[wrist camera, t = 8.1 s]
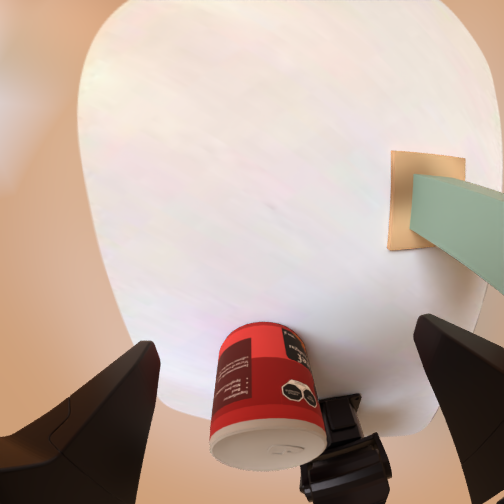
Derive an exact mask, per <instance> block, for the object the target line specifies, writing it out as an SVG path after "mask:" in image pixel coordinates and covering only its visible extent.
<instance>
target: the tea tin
mask: <svg viewBox="0 0 504 504" xmlns="http://www.w3.org/2000/svg"><path fill="white" fill-rule="evenodd" d="M409 229H411V230H412V231H414V232H416V233H417V234H419V235H420V236H422V237H424V238H425V239H427V240H428V241H430V242H431V243H433V244H434V245H436V246H437V247H439V248H440V249H442V250H443V251H445V252H446V253H448V254H449V255H451V256H452V257H454V258H455V259H456V260H458V261H459V262H461V263H462V264H463V265H465V266H466V267H468V268H469V269H470V270H472V271H473V272H474V273H476V274H477V275H478V276H480V277H481V278H482V279H484V280H485V281H486V282H488V283H489V284H490V285H492V286H493V287H494V288H495V289H497V290H498V291H499V292H500V293H502V294H503V295H504V193H501V192H498V191H495V190H492V189H489V188H486V187H483V186H480V185H476V184H473V183H470V182H466V181H463V180H459V179H456V178H451V177H442V176H432V175H422V174H414V176H413V195H412V208H411V218H410V227H409Z"/></svg>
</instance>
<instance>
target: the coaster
mask: <svg viewBox="0 0 504 504" xmlns="http://www.w3.org/2000/svg"><path fill="white" fill-rule="evenodd" d="M414 174H422V175H432V176H442V177H451V178H456V179H459V180H463V181H465V158H459V157H452V156H444V155H436V154H427V153H417V152H405V151H391V200H390V219H389V232H388V243H387V248H388V249H389V250H390V251H391V250H402V249H413V248H424V247H434V246H436V245H434V244H433V243H431V242H430V241H428V240H427V239H425V238H424V237H422V236H420V235H419V234H417V233H416V232H414V231H412V230H411V229H409V227H410V218H411V208H412V195H413V176H414Z"/></svg>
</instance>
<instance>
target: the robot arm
mask: <svg viewBox="0 0 504 504" xmlns="http://www.w3.org/2000/svg"><path fill="white" fill-rule="evenodd" d="M413 338H414V342H415V345H416V348H417V350H418V353H419V356H420V359H421V361H422V364H423V367H424V370H425V373H426V375H427V378H428V380H429V382H430V384H431V387H432V389H433V391H434V393H435V396H436V398H437V400H438V403H439V405H440V407H441V410H442V412H443V415H444V417H445V419H446V422H447V425H448V428H449V430H450V433H451V436H452V438H453V441H454V444H455V447H456V450H457V453H458V456H459V459H460V462H461V464H462V465H461V466H462V469H463V472H464V475H465V479H466V483H467V486H468V490H469V494H470V498H471V502H472V504H483V503H484V502H486V501H488V500H489V499H491V498H492V497H494V496H495V495H497V494H498V493H500V492H501V491H503V490H504V348H503V347H501V346H499V345H497V344H495V343H492V342H490V341H488V340H486V339H484V338H482V337H480V336H477V335H475V334H473V333H471V332H469V331H467V330H465V329H462V328H460V327H458V326H456V325H454V324H451V323H449V322H447V321H445V320H443V319H440V318H438V317H436V316H434V315H432V314H424V315H421V316H419V318H418V320H417V324H416V327H415V331H414V334H413ZM159 372H160V358H159V355H158V353H157V350H156V347H155V344H154V343H153V342H152V341H140V342H139V343H137V344H136V345H135V346H133V347H132V348H131V349H130V350H128V351H127V352H126V353H125V354H123V355H122V356H121V357H119V358H118V359H117V360H115V361H114V362H113V363H112V364H110V365H109V366H108V367H106V368H105V369H104V370H103V371H101V372H100V373H99V374H97V375H96V376H95V377H94V378H92V379H91V380H90V381H88V382H87V383H86V384H85V385H83V386H82V387H81V388H79V389H78V390H77V391H76V392H74V393H73V394H72V395H71V396H70V397H68V398H66V399H65V400H64V401H63V402H61V403H60V404H59V405H57V406H56V407H55V408H53V409H52V410H50V411H49V412H48V413H46V414H44V415H43V416H41V417H40V418H38V419H37V420H35V421H34V422H32V423H30V424H29V425H27V426H26V427H24V428H22V429H21V430H19V431H17V432H16V433H14V434H12V435H10V436H5V437H0V504H135V501H136V495H137V490H138V484H139V479H140V473H141V468H142V463H143V458H144V453H145V448H146V444H147V439H148V434H149V430H150V426H151V421H152V416H153V413H154V408H155V402H156V397H157V388H158V380H159ZM360 400H361V395H360V394H354V395H349V396H344V397H338V398H332V399H326V400H320V401H319V405H320V409H321V413H322V417H323V421H324V427H325V432H326V436H327V437H326V440H327V446H326V448H325V450H324V452H323V453H321V454H320V455H319V456H318V457H316V458H315V459H313V460H312V461H309V462H307V463H305V464H303V465H300V467H301V480H300V491H301V492H302V493H303V494H305V496H306V497H307V500H308V501H309V502H313V504H385V502H386V499H387V497H388V494H389V491H390V487H389V484H388V480H387V479H390V478H392V472H391V467H390V463H389V460H388V457H387V454H386V452H385V450H384V447H383V445H382V443H381V440H380V438H379V436H378V433H377V432H375V433H373V434H372V435H369V436H367V437H364V435H363V432H362V429H361V426H360V423H359V420H358V417H357V414H356V412H357V409H358V407H359V404H360ZM497 504H504V497H503V498H502V499H500V500H499V501H498V502H497Z"/></svg>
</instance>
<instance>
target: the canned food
mask: <svg viewBox="0 0 504 504" xmlns="http://www.w3.org/2000/svg"><path fill="white" fill-rule="evenodd" d="M326 437H327V436H326V432H325V427H324V421H323V417H322V413H321V409H320V405H319V401H318V397H317V393H316V389H315V385H314V381H313V377H312V373H311V369H310V365H309V361H308V357H307V353H306V349H305V346H304V344H303V342H302V341H301V339H300V338H299V337H298V336H297V334H295V333H294V332H293V331H292V330H291V329H289V328H287V327H285V326H283V325H280V324H277V323H272V322H256V323H250V324H246V325H244V326H241V327H239V328H237V329H236V330H234V331H233V332H231V333H230V334H229V335H228V336H227V338H226V340H225V341H224V343H223V344H222V346H221V348H220V352H219V359H218V367H217V375H216V383H215V392H214V400H213V409H212V417H211V427H210V439H209V442H210V453H211V454H212V456H213V457H214V458H215V459H216V460H217V461H219V462H221V463H223V464H225V465H228V466H230V467H234V468H238V469H242V470H248V471H278V470H284V469H289V468H293V467H297V466H300V465H303V464H305V463H307V462H309V461H312V460H313V459H315V458H316V457H318V456H319V455H320V454H321V453H323V452H324V450H325V448H326V446H327V440H326Z"/></svg>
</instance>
